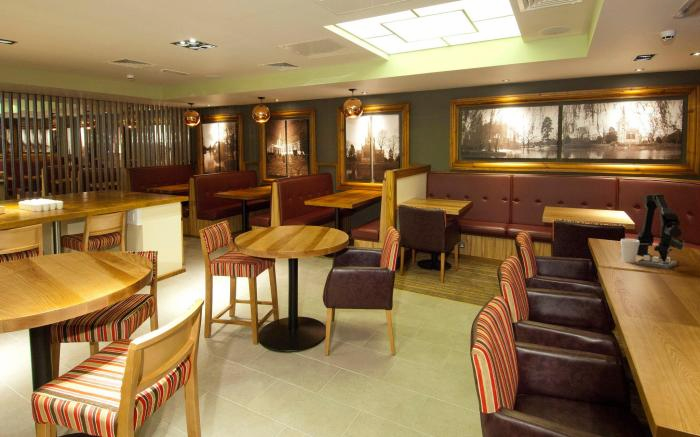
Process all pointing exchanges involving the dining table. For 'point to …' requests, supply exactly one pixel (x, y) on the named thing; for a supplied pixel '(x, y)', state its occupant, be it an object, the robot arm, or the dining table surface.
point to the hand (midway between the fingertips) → (664, 261)
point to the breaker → (646, 257)
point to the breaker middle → (655, 259)
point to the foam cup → (629, 250)
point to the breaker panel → (657, 263)
